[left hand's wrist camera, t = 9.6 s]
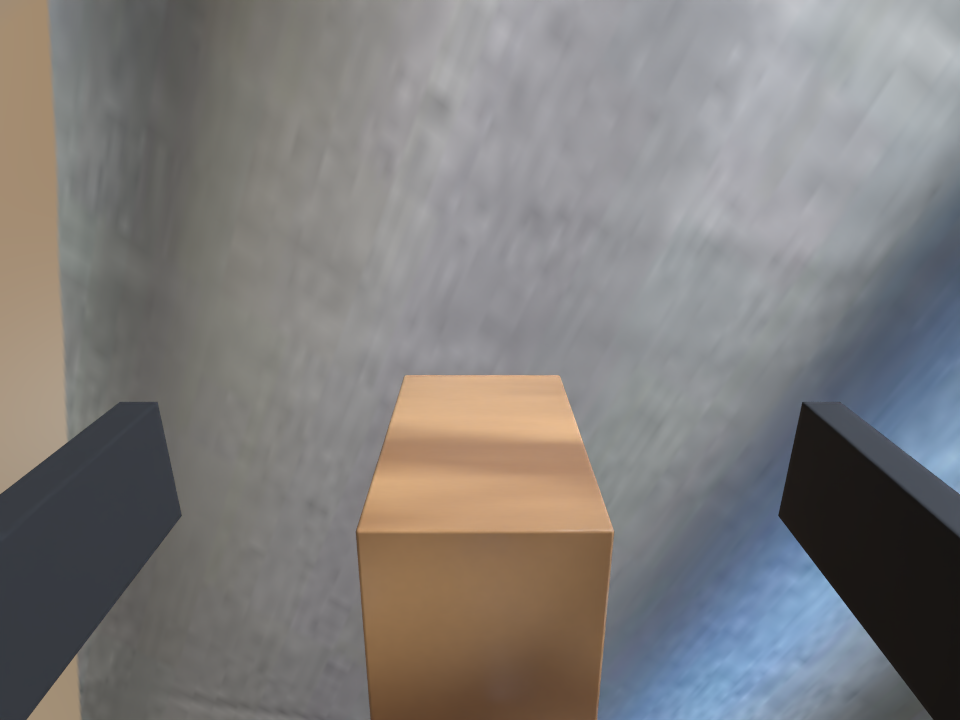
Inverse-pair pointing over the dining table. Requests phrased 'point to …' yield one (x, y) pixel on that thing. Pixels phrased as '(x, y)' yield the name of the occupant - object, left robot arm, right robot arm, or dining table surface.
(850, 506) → the left robot arm
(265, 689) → the dining table surface
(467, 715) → the bar
